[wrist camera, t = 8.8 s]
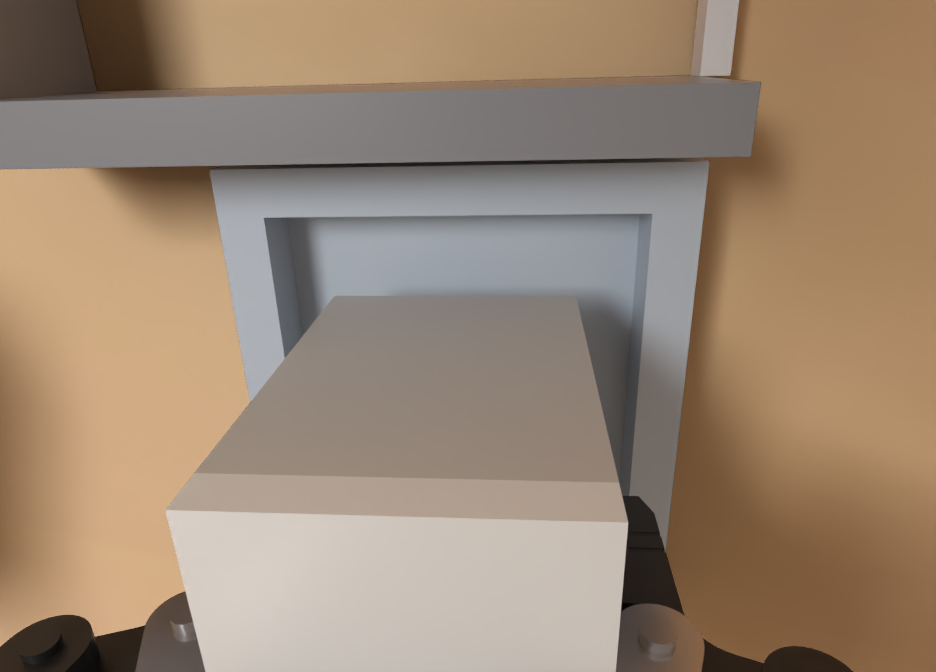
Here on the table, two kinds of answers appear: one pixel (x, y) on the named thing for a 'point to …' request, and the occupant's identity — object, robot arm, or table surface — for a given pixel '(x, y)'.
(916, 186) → the table surface
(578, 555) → the tall cream box
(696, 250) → the tray
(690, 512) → the table surface
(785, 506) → the table surface
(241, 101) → the frame
